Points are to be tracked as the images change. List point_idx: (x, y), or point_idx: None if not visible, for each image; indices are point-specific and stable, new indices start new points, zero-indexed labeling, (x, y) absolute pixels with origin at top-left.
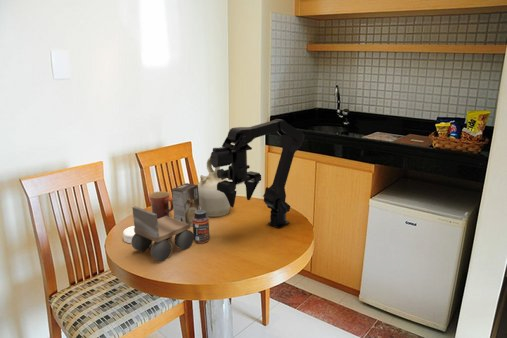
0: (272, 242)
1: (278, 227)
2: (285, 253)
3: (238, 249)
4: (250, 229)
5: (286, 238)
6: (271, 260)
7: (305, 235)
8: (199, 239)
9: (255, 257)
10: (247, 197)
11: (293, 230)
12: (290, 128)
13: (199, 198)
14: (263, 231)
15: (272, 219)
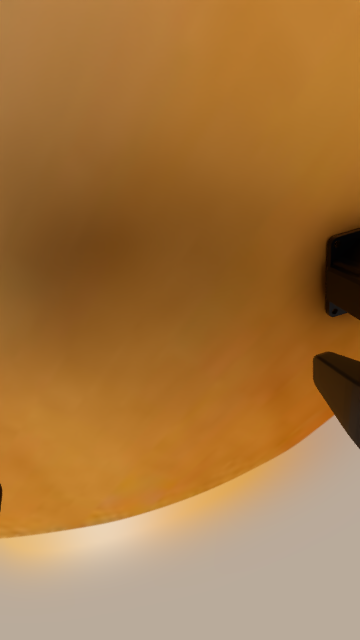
0: (203, 398)
1: (326, 306)
2: (181, 471)
3: (38, 386)
4: (219, 231)
5: (266, 396)
6: (113, 488)
7: None
8: None
9: (73, 459)
10: (336, 383)
11: None
12: None
13: None
14: (250, 295)
15: (348, 294)
